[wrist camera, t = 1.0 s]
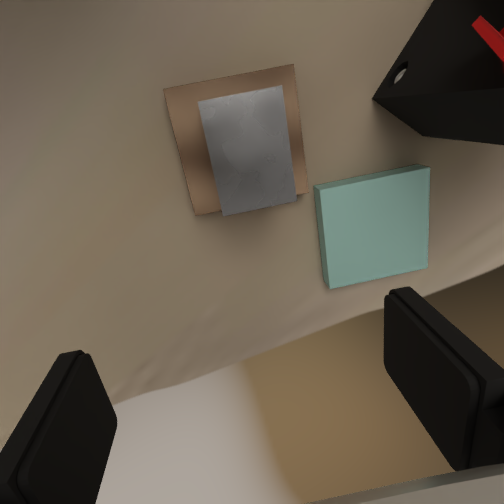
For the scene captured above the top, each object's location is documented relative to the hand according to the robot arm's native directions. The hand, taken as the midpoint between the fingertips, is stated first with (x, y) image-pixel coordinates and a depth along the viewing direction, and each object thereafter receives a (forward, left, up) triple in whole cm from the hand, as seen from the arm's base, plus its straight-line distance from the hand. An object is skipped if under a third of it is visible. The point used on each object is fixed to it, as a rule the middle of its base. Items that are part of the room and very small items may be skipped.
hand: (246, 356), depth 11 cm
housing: (-4, +2, -20) cm, 21 cm away
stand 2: (+6, +13, -22) cm, 26 cm away
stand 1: (-4, +2, -22) cm, 23 cm away
